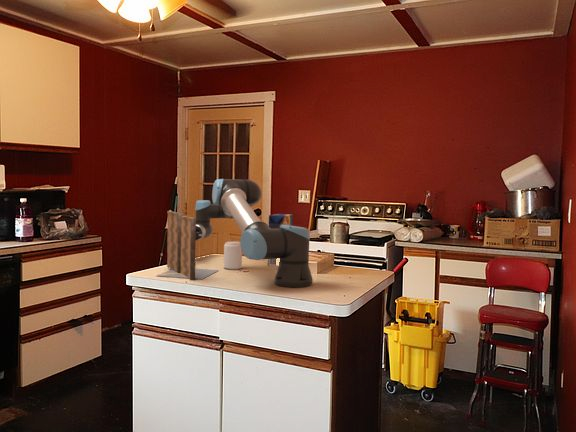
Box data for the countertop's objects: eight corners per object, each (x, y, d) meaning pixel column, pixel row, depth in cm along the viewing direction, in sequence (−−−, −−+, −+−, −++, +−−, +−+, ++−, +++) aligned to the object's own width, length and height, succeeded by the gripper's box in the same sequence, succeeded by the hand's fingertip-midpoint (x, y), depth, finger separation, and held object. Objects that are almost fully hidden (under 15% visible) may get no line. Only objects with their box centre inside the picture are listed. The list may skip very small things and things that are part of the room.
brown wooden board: (180, 271, 223) (180, 213, 221) (177, 271, 222) (177, 213, 220) (169, 266, 233) (170, 211, 231) (166, 266, 233) (167, 211, 231)
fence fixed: (176, 273, 222) (176, 212, 220) (181, 273, 223) (182, 212, 221) (190, 280, 209) (191, 215, 207) (196, 279, 210) (197, 215, 208)
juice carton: (282, 267, 244) (283, 216, 242) (267, 265, 247) (268, 215, 245) (291, 263, 255) (292, 214, 254) (277, 261, 258) (278, 213, 256)
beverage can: (220, 268, 238) (220, 242, 237) (234, 266, 243) (235, 240, 242) (230, 270, 232) (231, 244, 231) (245, 268, 237) (245, 242, 236)
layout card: (218, 270, 230) (218, 269, 230) (202, 279, 211) (202, 278, 211) (176, 268, 234) (176, 267, 234) (156, 276, 215) (156, 275, 215)
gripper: (207, 240, 257) (189, 247, 234) (183, 239, 259) (162, 245, 236) (208, 225, 256) (189, 230, 233) (183, 224, 259) (162, 229, 236)
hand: (175, 238), depth 235 cm, fingers closed
